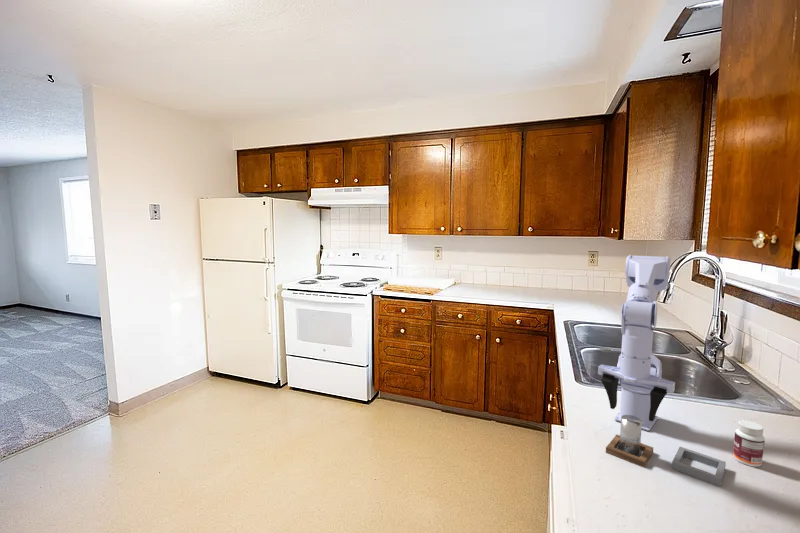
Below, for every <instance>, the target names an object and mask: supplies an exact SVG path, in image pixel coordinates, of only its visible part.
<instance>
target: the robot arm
mask: <svg viewBox="0 0 800 533" xmlns="http://www.w3.org/2000/svg"><path fill="white" fill-rule="evenodd" d="M670 268H671V258H670V257H669V255H668V256H667V255H666V256H655V255H654V256H652V255H632V254H628V256H627V257H626V259H625V268H624V269H625V280H626V281H625V282H626V286H627V287H628V291H627V296H626V300H625V302H624V301H623V302H622V305H621V310H620V324H621V328H620V329H621V330H620V331H621V332H620V333H621V334H622V336H621V337H622V338H621V350H620V351H621V353H620V354H619V356H618V360H617V361H618V362H617V365H616V366H612V365H606V364H600V365H599V366H597V367H598V369H597V375H599V376H602V378H601V379H600V380H601V383H602V386H603V387H604V389H605V392H606V395H607V397H608V401H609V402H608V403H609V407H610V409H612V410H615V408H616V407H617V404H618V403H617V402H618V388H619V387H618V386H619V384H620V389H621V392H620V393H621V394H620V408H619V409H620V410H619V413H618V414H617V415H616V416H615V417H614V421H617V422H620V423H621V416H623V415H632V416H635V417H638V418H639V419H641V420H642V430H644V431H647V432H650V431H651V429H652V428H653V427H654V425H655V424H656V422H657V420H658V419H659V417H658V416H657V412H658V409H659V407H660V405H661V403H662V401H663V400H664V398H665V397H666V396H667V394H674V392H675V390H676V389H675V387H676V382H675V381H672V380H667V379H666V378H662V372H663V369H662V364H663V363H662V361H661V360H660V358H658V357H657V356H656V355H654V353H653V338H654V330H655V329H656V326H657V322H658V305H657V298H658V295H659V294H658V293H660V292H662V291H666V290H667V287H668V285H669V279H670Z"/></svg>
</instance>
